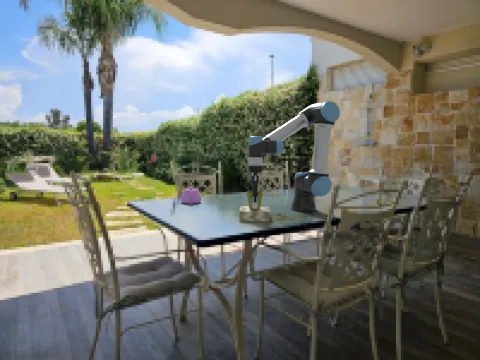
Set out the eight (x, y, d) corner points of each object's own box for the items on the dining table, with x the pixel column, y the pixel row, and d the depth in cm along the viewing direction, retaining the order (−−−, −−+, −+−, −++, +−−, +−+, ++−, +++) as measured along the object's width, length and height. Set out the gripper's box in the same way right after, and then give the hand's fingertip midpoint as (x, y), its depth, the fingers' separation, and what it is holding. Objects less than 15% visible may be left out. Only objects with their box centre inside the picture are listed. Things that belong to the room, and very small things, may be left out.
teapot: (200, 200, 257) (200, 185, 255) (202, 204, 237) (202, 188, 236) (180, 200, 254) (180, 185, 253) (181, 205, 234) (180, 188, 233)
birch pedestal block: (268, 215, 204) (268, 206, 203) (270, 221, 188) (270, 211, 187) (239, 214, 204) (240, 206, 204) (239, 220, 188) (239, 211, 188)
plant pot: (262, 210, 190) (262, 194, 189) (244, 209, 192) (244, 193, 191) (264, 207, 199) (264, 191, 198) (247, 206, 201) (247, 191, 200)
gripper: (248, 163, 204) (247, 203, 206) (248, 166, 183) (247, 210, 185) (261, 164, 204) (260, 203, 206) (263, 166, 183) (262, 210, 185)
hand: (254, 206), depth 195 cm, fingers closed on plant pot, 8 cm apart
